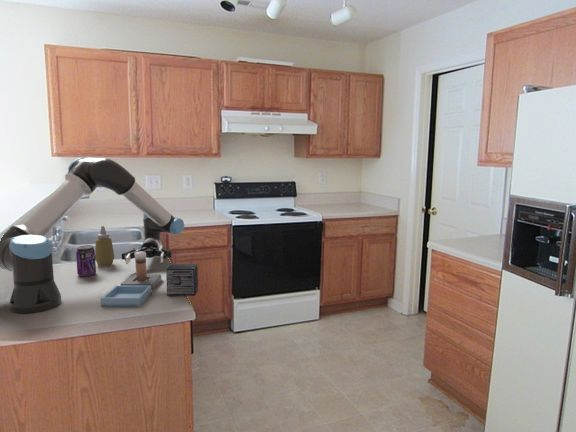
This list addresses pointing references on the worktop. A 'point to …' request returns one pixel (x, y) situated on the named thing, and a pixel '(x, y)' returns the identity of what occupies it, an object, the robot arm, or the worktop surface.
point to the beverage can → (85, 260)
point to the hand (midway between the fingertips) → (144, 260)
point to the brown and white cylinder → (140, 266)
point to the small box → (182, 279)
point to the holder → (151, 281)
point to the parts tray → (126, 296)
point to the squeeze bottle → (104, 249)
